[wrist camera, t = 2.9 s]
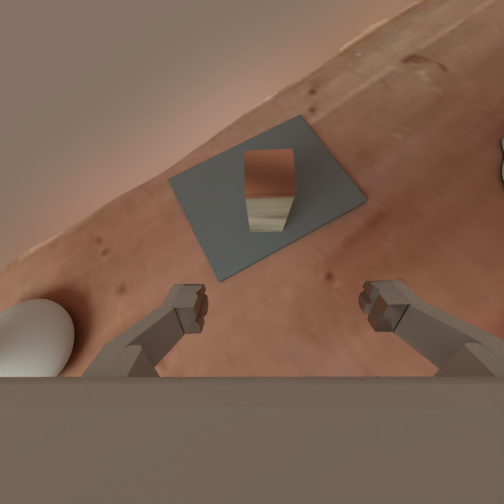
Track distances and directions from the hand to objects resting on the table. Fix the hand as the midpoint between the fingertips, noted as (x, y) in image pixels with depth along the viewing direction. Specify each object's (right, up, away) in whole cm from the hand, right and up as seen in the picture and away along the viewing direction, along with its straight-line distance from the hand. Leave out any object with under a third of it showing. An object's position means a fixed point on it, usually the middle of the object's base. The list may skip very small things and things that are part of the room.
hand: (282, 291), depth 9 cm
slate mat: (0, +11, +19) cm, 22 cm away
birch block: (0, +7, +17) cm, 18 cm away
